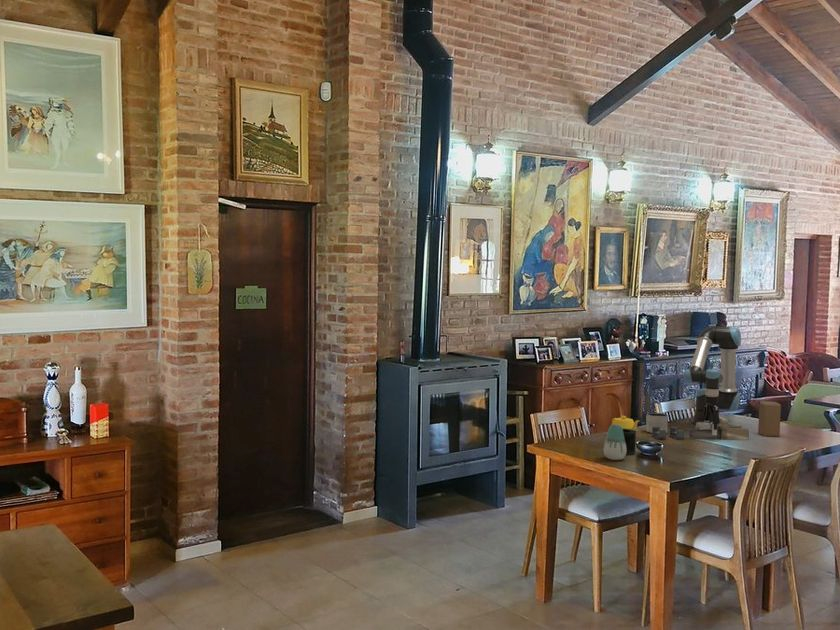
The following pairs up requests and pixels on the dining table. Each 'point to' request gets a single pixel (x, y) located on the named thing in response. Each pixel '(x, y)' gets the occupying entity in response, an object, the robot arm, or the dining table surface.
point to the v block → (662, 433)
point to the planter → (656, 421)
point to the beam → (722, 432)
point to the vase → (615, 443)
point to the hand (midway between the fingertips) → (710, 433)
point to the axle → (707, 426)
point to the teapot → (625, 423)
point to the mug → (630, 440)
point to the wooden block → (769, 418)
